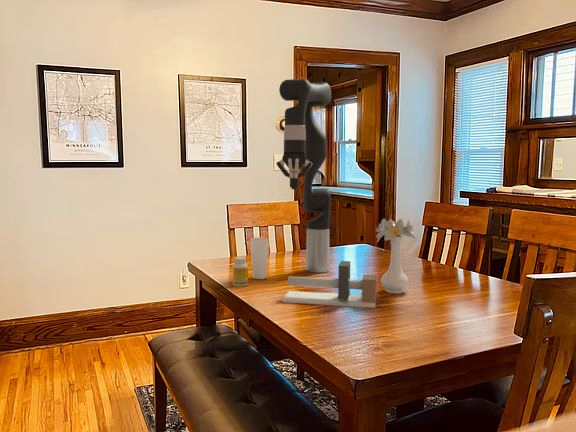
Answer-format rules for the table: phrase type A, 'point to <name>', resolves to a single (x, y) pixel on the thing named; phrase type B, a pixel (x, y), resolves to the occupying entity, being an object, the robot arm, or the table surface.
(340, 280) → the collar
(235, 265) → the supplement bottle
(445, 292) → the table surface
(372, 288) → the pipe stand
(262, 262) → the drinking glass
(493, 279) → the table surface
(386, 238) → the flower vase
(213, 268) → the table surface
